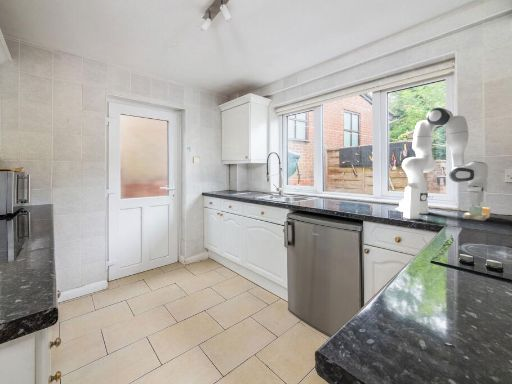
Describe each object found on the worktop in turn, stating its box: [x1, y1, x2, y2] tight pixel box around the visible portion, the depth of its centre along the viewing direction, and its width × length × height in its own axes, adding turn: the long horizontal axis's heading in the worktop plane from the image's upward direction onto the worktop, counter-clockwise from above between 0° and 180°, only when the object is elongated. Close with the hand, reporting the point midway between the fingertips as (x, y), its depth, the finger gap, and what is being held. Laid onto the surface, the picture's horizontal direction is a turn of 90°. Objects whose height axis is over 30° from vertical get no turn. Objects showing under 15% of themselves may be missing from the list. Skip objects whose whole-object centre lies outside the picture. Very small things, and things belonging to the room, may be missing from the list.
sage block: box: [468, 205, 483, 215], centre depth 153 cm, size 5×5×5 cm
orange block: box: [482, 206, 491, 219], centre depth 158 cm, size 4×4×6 cm
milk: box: [402, 182, 420, 220], centre depth 153 cm, size 6×6×22 cm
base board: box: [462, 212, 488, 221], centre depth 154 cm, size 10×10×2 cm
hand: (475, 210), depth 153 cm, fingers open, 8 cm apart
